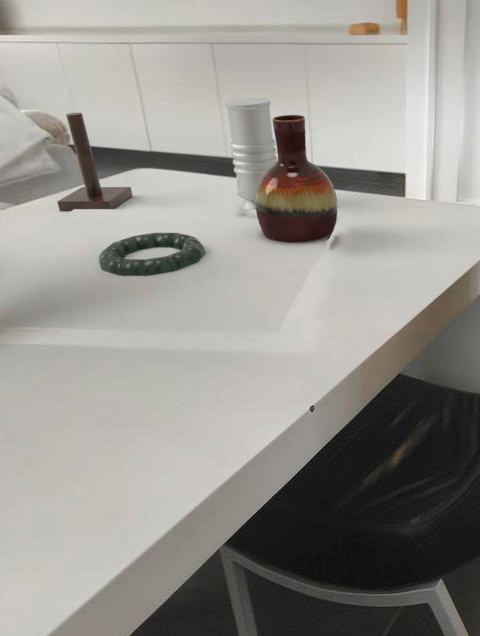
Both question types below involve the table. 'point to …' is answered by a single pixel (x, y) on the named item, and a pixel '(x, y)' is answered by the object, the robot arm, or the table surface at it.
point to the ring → (117, 264)
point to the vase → (295, 190)
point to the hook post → (89, 175)
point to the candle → (251, 144)
